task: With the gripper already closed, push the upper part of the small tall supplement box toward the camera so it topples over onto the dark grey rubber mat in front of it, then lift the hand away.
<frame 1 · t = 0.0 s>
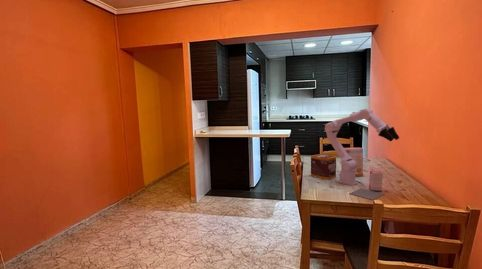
hand: (395, 139, 146), 32 cm above the table, tool tilted 50°, fingers open, 7 cm apart
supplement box: (323, 176, 190), on the table
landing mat: (366, 194, 149), on the table
cracker box: (351, 175, 190), on the table
supplement box 2: (375, 190, 156), on the table, touching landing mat
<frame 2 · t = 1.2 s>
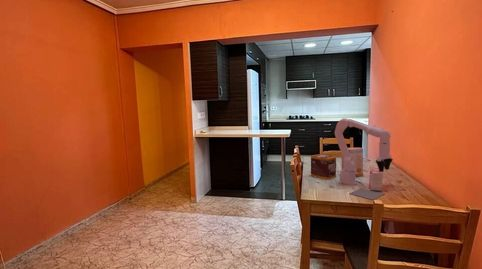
hand: (384, 170, 161), 11 cm above the table, tool pointing down, fingers open, 7 cm apart
nothing on the table moved.
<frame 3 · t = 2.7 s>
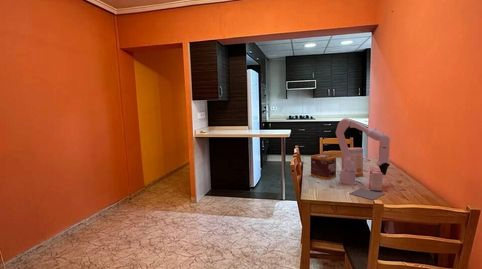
hand: (383, 174, 161), 8 cm above the table, tool pointing down, fingers closed
nothing on the table moved.
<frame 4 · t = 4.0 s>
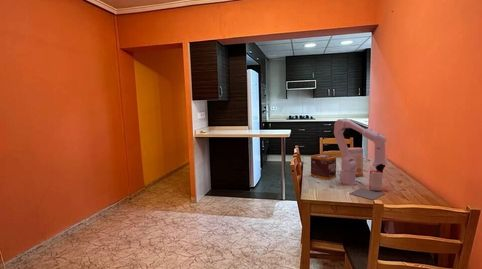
hand: (379, 175, 158), 8 cm above the table, tool pointing down, fingers closed, pressing on supplement box 2
supplement box 2: (375, 190, 156), on the table, touching gripper, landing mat
everything else where it was.
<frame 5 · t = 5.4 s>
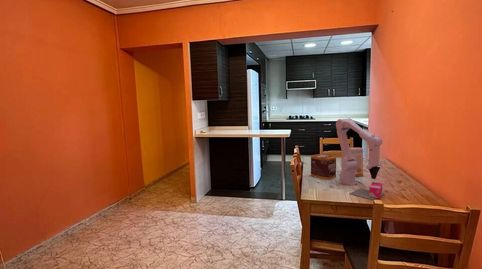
hand: (373, 178, 153), 8 cm above the table, tool pointing down, fingers closed
supplement box 2: (377, 187, 152), point 3 cm above the table, touching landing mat
everything else where it was.
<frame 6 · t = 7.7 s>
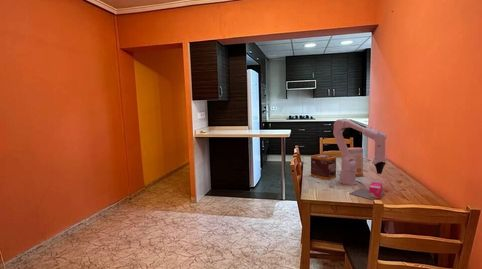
hand: (379, 173, 158), 10 cm above the table, tool pointing down, fingers closed
nothing on the table moved.
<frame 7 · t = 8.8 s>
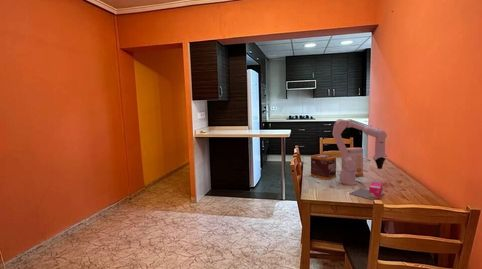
hand: (379, 168, 166), 10 cm above the table, tool pointing down, fingers closed
nothing on the table moved.
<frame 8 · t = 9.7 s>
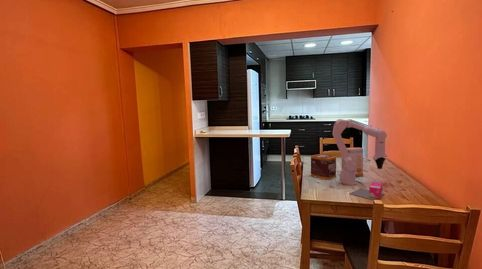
hand: (379, 168, 166), 10 cm above the table, tool pointing down, fingers closed
nothing on the table moved.
at the end: supplement box 2 tilted 91°; supplement box 2 touching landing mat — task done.
